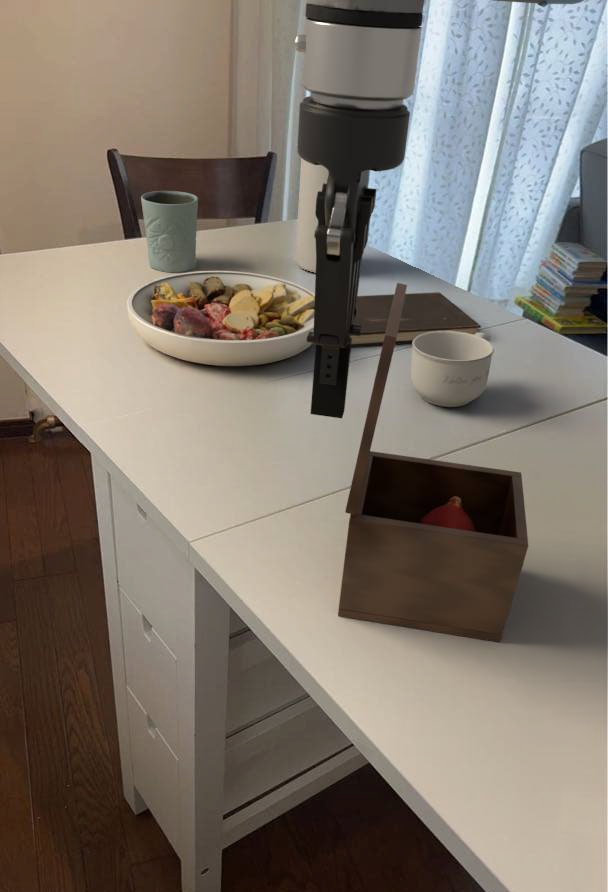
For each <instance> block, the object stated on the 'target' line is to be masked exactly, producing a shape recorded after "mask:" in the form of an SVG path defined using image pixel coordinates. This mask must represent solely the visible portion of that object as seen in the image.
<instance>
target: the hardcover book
mask: <svg viewBox="0 0 608 892" xmlns="http://www.w3.org/2000/svg"><path fill="white" fill-rule="evenodd" d="M394 294H395V293H393V294H392V293H391V294H373V295H372V294H371V295H357V303H356V309H357V315H356V316H355V318H354V319H353V324H354V325H358V326H362V327H361V334H360V336H354V335H349V337H350V338H352V342H351V348H365V347H379V346H380V347H381V346H383V341H384V337H385V333H386V328H387V324H388V320H389V316H390V311H391V307H392V303H393V298H394ZM481 327H482V325H481V324H479V323H478V322H477V321H475V320H474V319H473V318H472V317H471V316H469V315H468V314H467V313H466V312H464V311H463V310H462V309H460V307H458V306H457V305H456V304H455V303H454V302H452V301H451V300H450V299H449V298H448V297H446V296H445V295H444V294H442V293H441V292H440V291H439V292H435V291H434V292H416V293H415V292H414V293H413V292H412V293H405V298H404V303H403V308H402V313H401V318H400V323H399V328H398V333H397V338H396V342H395V345H409V344H408V343H410V344H412V342H413V340H414V338H416V337H417V336H419V335H421V334H424V333H428V332H434V331H457V332H464V333H469V334H473V335H475V334H476V333H478V332H479V331H478V329H480V328H481Z"/></svg>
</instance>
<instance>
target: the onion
mask: <svg viewBox="0 0 608 892" xmlns="http://www.w3.org/2000/svg"><path fill="white" fill-rule="evenodd" d="M419 524H426V525H433V526H440V527H446V528H453V529H460V530H466V531H473V532H476V530H475V527H474V524H473V522H472V521H471V519H470V517H469V516H468V515H467V513H466V512H465V511H464V510H463V508H462V505H461V499H460V498H459V497H455V496H454V497H452V498H451V499H450V501H449V502H448V503H447V504H446V505H443V506H440V507H437V508H435V509H433V510H432V511H431V512H429V513H428V514H427V515H426V516H424V517H423V519H422V520H421V521H420V523H419Z"/></svg>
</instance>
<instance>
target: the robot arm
mask: <svg viewBox="0 0 608 892" xmlns="http://www.w3.org/2000/svg"><path fill="white" fill-rule="evenodd" d="M492 1H494V2H507V3H509V2H510V3H524V4H537V5H538V6H539V7H542V8H545V7H546V6H548V5H575V4H580V3H582V2H584V1H585V0H492ZM425 2H426V1H425V0H306V5H305V23H304V32H305V34H297V35H296V37H295V40H294V43H293V44H294V48H295V50H296V51H297V52H299V53H305V54H304V58H303V59H302V70H301V71H302V75H301V85H302V87H303V88H304V89H305V91H308V92H309V93H310V95H309V96H306V97H304V98H303V99H302V101H301V102H300V103H299V112H298V113H299V114H298V130H297V147H296V149H297V154H298V155H299V157H300V159H301V158H302V159H303V160H305V161H307V162H309V163H311V164H314V165H322V166H324V167H325V168H326V169H327V170H328V171H329V173H328V179H327V184H326V183H323V186H322V191H318V193H317V198H316V211H315V214H316V217H317V219H318V226H317V227H316V230H315V235H314V238H315V239H316V274H315V281H314V282H315V284H314V293H315V307H314V332H309V334H308V336H307V342H309V343H313V344H312V345H315V349H314V363H313V376H312V390H311V400H310V401H311V402H310V415H313V416H322V417H329V418H336V419H343V416H344V413H345V409H346V400H347V388H348V380H349V379H348V378H349V370H350V369H349V368H350V361H351V350H352V347H351V342H352V338H350V337H349V335H354V336H360V334H361V327H362V326H358V325H354V324H353V319H354V318H355V316H356V315H357V309H356V303H357V296H359V295H358V294H359V286H360V278H361V270H362V262H363V256H364V252H365V249H366V247H367V245H368V241H369V234H370V223H371V218H372V214H373V212H374V211H375V207H376V200H377V188H372V187H371V188H370V187H368V188H367V185H368V175H369V170H370V171H373V172H384V171H385V172H386V171H389V170H393V169H396V168H398V167H400V166H401V164H403V162H404V160H405V155H406V147H407V139H408V133H409V124H410V116H411V112H410V111H409V110H408V106H407V105H405V104H404V100H407V99H408V98H410V97H411V96H412V95H413V94H414V90H415V83H416V76H417V75H416V73H417V69H418V60H419V54H420V53H419V52H420V46H421V45H420V44H421V38H422V37H421V36H422V30H423V27H421V26H422V24H423V18H424V17H423V16H424V14H423V13H424V6H425ZM368 186H369V185H368Z"/></svg>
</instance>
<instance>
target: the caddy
mask: <svg viewBox="0 0 608 892" xmlns="http://www.w3.org/2000/svg"><path fill="white" fill-rule="evenodd" d="M454 496H455V497H459V498H460V499H461V505H462V508H463V510H464V511H465V512H466V513H467V515H468V516H469V517H470V519H471V521H472V522H473V524H474V527H475V530H476V532H473V531H466V530H460V529H453V528H446V527H440V526H433V525H426V524H419V523H420V521H421V520H422V519H423V517H424V516H426V515H427V514H428V513H429V512H431V511H432V510H433V509H435V508H437V507H440V506H443V505H446V504H447V503H448V502H449V501H450V499H451V498H452V497H454ZM347 527H348V528H347V534H346V536H347V537H346V545H345V553H344V561H343V569H342V577H341V585H340V593H339V594H340V595H339V603H338V609H337V616H338V617H342V618H343V617H344V618H350V619H354V620H361V621H368V622H373V623H379V624H384V625H385V624H386V625H392V626H399V627H403V628H404V627H405V628H411V629H416V630H423V631H429V632H435V633H442V634H447V635H453V636H459V637H466V638H471V639H478V640H483V641H489V642H496V643H501V642H502V638H503V634H504V631H505V628H506V624H507V621H508V617H509V614H510V611H511V607H512V604H513V602H514V601H513V600H514V597H515V593H516V590H517V587H518V583H519V580H520V576H521V573H522V571H523V570H522V569H523V566H524V562H525V560H526V555H527V552H528V549H529V536H528V526H527V516H526V506H525V497H524V486H523V475H522V472H520V471H513V470H507V469H500V468H492V467H485V466H477V465H471V464H464V463H457V462H449V461H444V460H436V459H428V458H423V457H416V456H409V455H400V454H395V453H394V454H393V453H387V452H379V451H372V450H370V453H369V457H368V462H367V466H366V470H365V474H364V479H363V483H362V487H361V491H360V496H359V500H358V504H357V508H356V513H355V515H353V514H349V518H348V526H347Z"/></svg>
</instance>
